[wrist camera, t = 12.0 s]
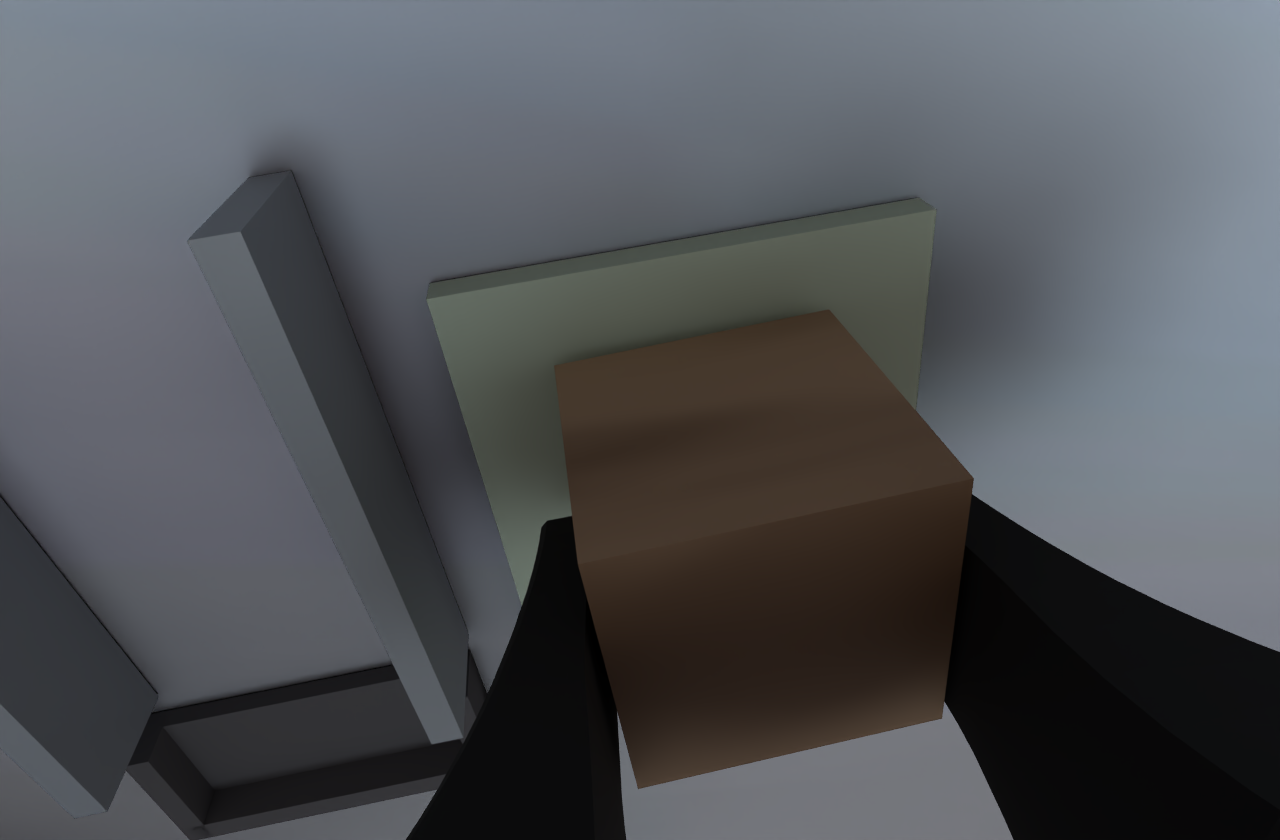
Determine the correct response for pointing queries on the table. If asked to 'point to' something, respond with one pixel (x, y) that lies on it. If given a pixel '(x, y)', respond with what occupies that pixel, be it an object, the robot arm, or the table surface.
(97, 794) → the channel
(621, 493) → the block
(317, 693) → the tray
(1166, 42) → the table surface
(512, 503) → the coaster
